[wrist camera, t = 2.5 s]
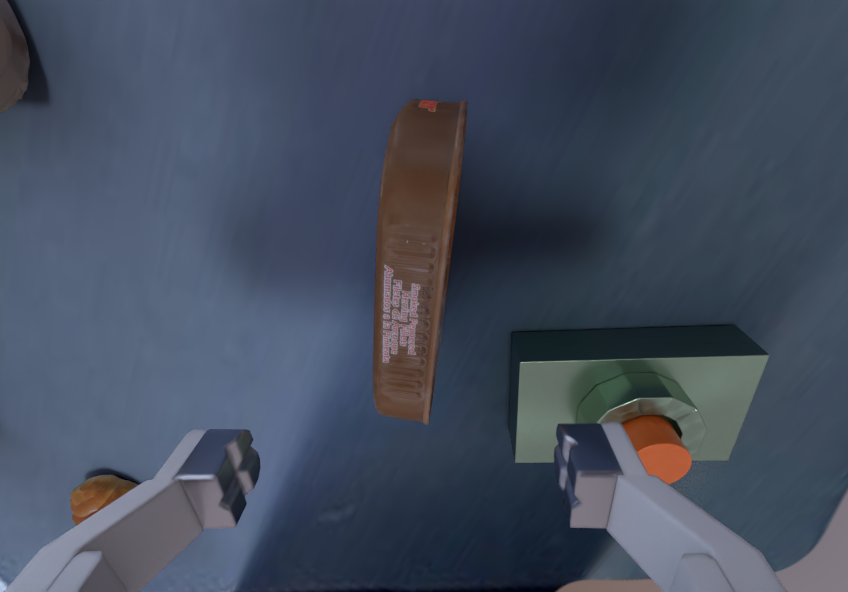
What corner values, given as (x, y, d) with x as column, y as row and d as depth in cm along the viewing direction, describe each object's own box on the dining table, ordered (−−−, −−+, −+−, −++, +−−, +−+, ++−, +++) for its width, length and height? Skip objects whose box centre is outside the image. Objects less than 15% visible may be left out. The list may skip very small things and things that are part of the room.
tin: (438, 356, 27) (435, 466, 19) (389, 351, 27) (367, 460, 19) (470, 96, 19) (485, 111, 12) (403, 89, 19) (377, 101, 12)
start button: (616, 414, 22) (631, 444, 20) (678, 412, 22) (699, 443, 20) (607, 456, 24) (621, 487, 22) (666, 455, 24) (684, 487, 22)
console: (511, 331, 26) (525, 386, 21) (735, 324, 25) (798, 379, 20) (508, 427, 29) (519, 490, 25) (702, 424, 28) (749, 489, 24)
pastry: (64, 479, 34) (23, 524, 31) (129, 459, 33) (93, 504, 29) (141, 544, 38) (112, 590, 35) (201, 529, 37) (177, 575, 33)
